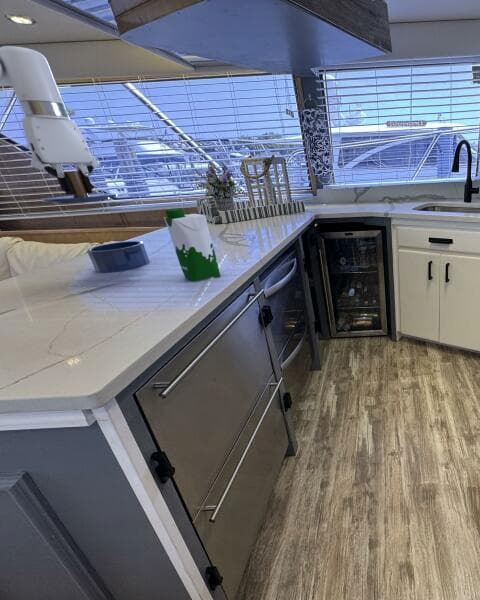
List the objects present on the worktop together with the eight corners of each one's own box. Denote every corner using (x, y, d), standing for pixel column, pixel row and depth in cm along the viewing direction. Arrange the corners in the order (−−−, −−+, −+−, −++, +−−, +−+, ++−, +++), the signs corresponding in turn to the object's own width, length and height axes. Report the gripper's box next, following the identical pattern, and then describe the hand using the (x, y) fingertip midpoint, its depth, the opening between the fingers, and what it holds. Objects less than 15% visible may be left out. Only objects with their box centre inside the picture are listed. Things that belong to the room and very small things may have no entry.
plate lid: (58, 205, 75) (43, 172, 72) (33, 203, 81) (18, 173, 78) (129, 198, 87) (119, 169, 84) (102, 197, 93) (92, 171, 90)
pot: (117, 281, 95) (105, 253, 91) (85, 274, 103) (74, 248, 99) (165, 268, 106) (156, 243, 102) (133, 263, 114) (124, 239, 110)
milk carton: (181, 279, 94) (158, 209, 86) (213, 271, 101) (194, 205, 93) (192, 285, 89) (169, 211, 81) (225, 276, 96) (207, 207, 88)
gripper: (82, 117, 84) (109, 190, 92) (-11, 110, 71) (30, 196, 78) (95, 114, 81) (123, 190, 89) (1, 106, 68) (43, 197, 75)
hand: (79, 192), depth 83 cm, fingers closed on plate lid, 3 cm apart
